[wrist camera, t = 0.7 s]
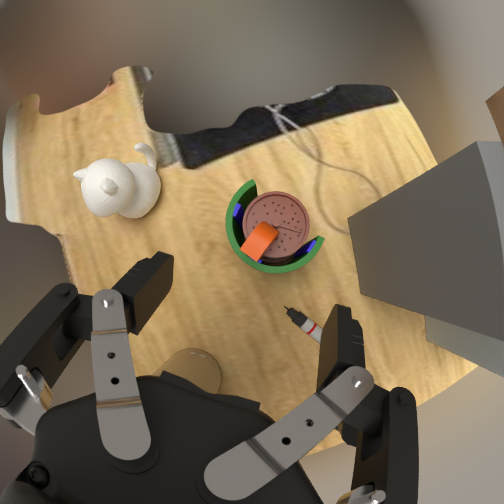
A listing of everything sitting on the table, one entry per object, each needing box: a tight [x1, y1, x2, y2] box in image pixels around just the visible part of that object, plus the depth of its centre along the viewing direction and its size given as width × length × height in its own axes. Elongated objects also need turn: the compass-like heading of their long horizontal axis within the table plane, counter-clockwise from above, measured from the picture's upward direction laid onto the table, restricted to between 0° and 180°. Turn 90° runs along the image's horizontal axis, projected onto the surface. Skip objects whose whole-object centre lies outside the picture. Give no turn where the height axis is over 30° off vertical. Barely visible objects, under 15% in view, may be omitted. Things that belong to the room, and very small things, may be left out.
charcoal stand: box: [347, 141, 504, 341], centre depth 28 cm, size 12×9×32 cm
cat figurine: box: [73, 143, 161, 218], centre depth 39 cm, size 9×12×15 cm
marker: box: [284, 306, 323, 343], centre depth 43 cm, size 15×2×2 cm, turn 50°
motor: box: [226, 179, 324, 273], centre depth 35 cm, size 10×9×20 cm
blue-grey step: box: [425, 315, 504, 377], centre depth 31 cm, size 12×7×22 cm, turn 10°
